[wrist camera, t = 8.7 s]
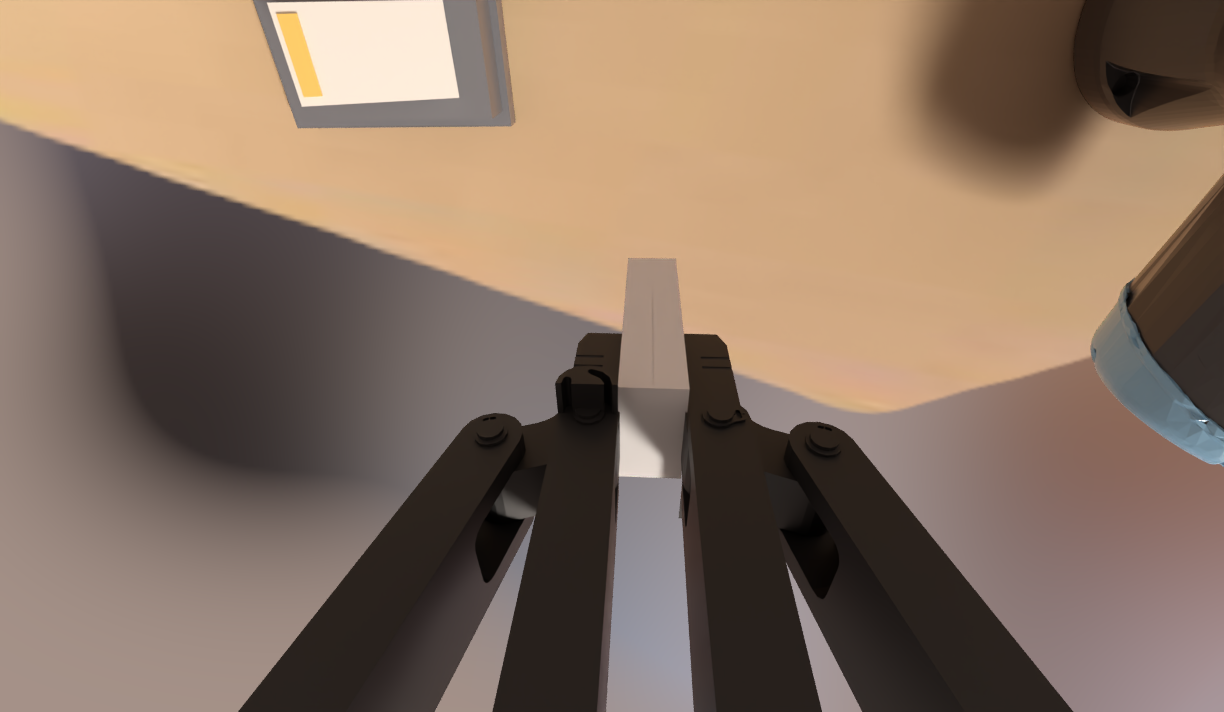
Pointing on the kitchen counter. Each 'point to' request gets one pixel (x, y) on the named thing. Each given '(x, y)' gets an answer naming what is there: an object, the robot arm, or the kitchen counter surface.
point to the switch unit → (479, 103)
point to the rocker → (366, 50)
